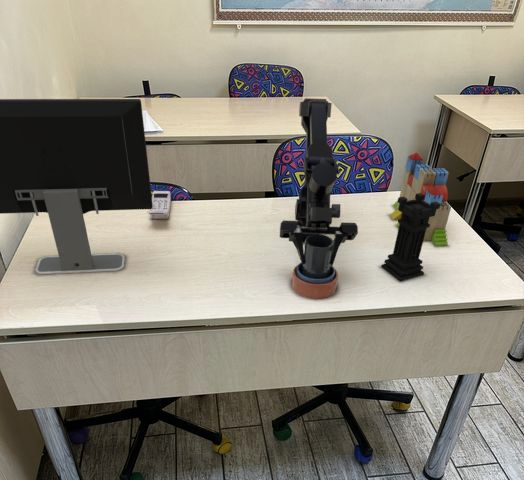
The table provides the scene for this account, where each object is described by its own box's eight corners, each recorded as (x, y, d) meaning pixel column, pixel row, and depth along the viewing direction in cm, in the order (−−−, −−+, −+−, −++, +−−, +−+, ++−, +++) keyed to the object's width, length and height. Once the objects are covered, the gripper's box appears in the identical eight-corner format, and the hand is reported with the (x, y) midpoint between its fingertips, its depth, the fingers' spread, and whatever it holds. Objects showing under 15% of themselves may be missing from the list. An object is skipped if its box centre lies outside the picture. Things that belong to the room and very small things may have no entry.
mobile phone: (146, 212, 146) (152, 178, 165) (148, 231, 150) (153, 195, 169) (167, 212, 147) (170, 178, 166) (168, 231, 151) (171, 195, 170)
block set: (457, 245, 150) (477, 181, 137) (412, 247, 148) (428, 182, 136) (422, 204, 171) (437, 146, 159) (382, 205, 169) (394, 146, 157)
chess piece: (399, 281, 134) (417, 210, 121) (381, 267, 139) (396, 197, 126) (423, 274, 137) (442, 204, 124) (404, 261, 142) (420, 191, 129)
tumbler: (310, 274, 134) (315, 231, 126) (332, 283, 131) (339, 240, 123) (295, 284, 130) (299, 241, 122) (318, 294, 126) (323, 251, 118)
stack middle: (320, 273, 135) (322, 256, 132) (340, 291, 129) (342, 274, 126) (288, 280, 132) (289, 264, 129) (307, 300, 125) (309, 283, 122)
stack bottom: (321, 271, 136) (323, 257, 134) (344, 292, 129) (346, 279, 126) (284, 280, 132) (285, 266, 130) (305, 302, 125) (307, 289, 122)
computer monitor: (158, 253, 141) (141, 96, 115) (158, 268, 134) (139, 106, 109) (2, 259, 135) (-53, 96, 110) (-6, 276, 129) (-66, 107, 103)
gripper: (282, 188, 118) (281, 254, 117) (363, 191, 118) (362, 257, 117) (280, 206, 129) (278, 266, 128) (353, 208, 129) (352, 268, 128)
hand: (317, 264), depth 125 cm, fingers closed on tumbler, 7 cm apart
